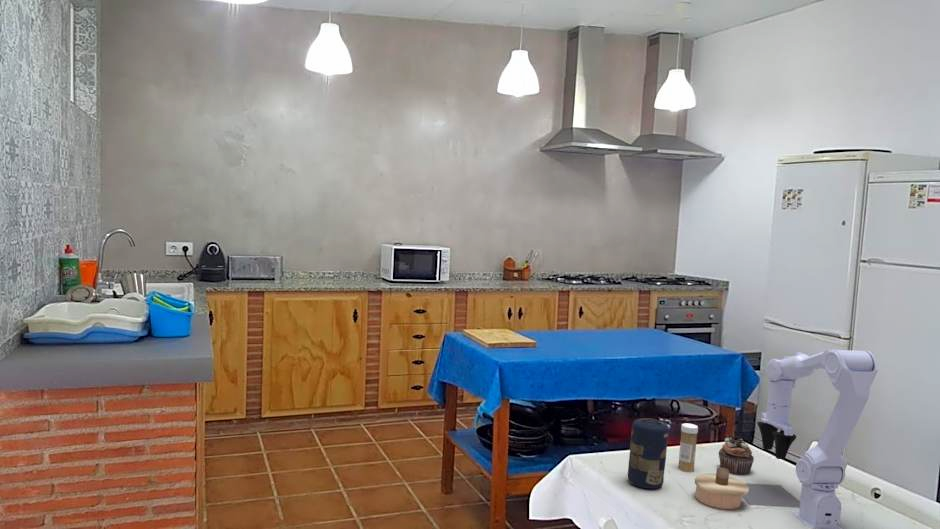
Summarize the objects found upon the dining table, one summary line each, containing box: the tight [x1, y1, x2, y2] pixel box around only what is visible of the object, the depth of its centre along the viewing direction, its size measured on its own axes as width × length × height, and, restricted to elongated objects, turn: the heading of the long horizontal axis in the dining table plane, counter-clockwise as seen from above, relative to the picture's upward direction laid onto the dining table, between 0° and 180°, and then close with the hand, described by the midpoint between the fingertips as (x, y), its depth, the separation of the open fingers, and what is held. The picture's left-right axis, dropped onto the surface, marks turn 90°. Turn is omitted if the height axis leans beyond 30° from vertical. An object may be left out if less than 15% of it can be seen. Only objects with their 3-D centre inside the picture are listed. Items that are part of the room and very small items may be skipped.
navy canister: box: [627, 417, 670, 489], centre depth 191 cm, size 10×10×18 cm
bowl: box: [695, 485, 743, 510], centre depth 182 cm, size 11×11×4 cm
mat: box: [742, 482, 800, 509], centre depth 188 cm, size 15×15×1 cm
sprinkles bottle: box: [677, 422, 699, 473], centre depth 203 cm, size 5×5×13 cm
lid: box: [694, 467, 749, 497], centre depth 181 cm, size 13×13×4 cm
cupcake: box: [718, 435, 755, 476], centre depth 206 cm, size 10×10×10 cm
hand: (773, 453), depth 192 cm, fingers open, 7 cm apart
